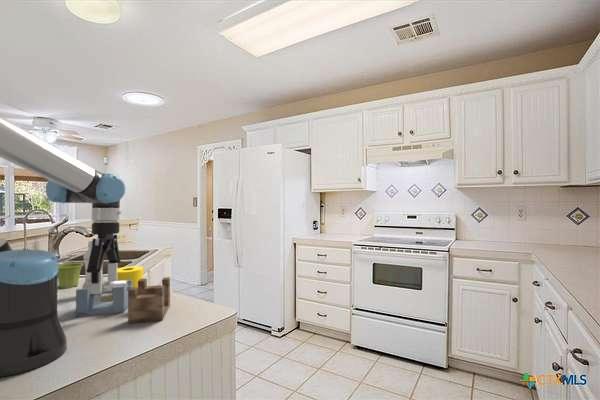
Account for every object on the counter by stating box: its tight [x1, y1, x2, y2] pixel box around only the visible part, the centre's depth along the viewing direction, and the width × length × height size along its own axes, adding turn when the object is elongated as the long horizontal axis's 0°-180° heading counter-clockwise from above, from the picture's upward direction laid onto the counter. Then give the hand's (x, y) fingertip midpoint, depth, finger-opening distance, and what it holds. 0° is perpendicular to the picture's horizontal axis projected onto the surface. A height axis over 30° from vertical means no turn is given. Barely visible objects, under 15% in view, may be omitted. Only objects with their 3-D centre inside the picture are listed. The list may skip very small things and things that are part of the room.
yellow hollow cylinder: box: [117, 265, 144, 287], centre depth 113 cm, size 10×10×9 cm
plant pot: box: [57, 262, 84, 289], centre depth 124 cm, size 9×9×9 cm
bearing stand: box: [127, 276, 171, 325], centre depth 93 cm, size 9×13×10 cm
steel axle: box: [81, 280, 129, 296], centre depth 97 cm, size 12×4×4 cm, turn 104°
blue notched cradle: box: [75, 280, 132, 317], centre depth 97 cm, size 9×13×8 cm
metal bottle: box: [82, 240, 104, 283], centre depth 112 cm, size 6×7×20 cm
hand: (104, 287), depth 97 cm, fingers open, 13 cm apart
